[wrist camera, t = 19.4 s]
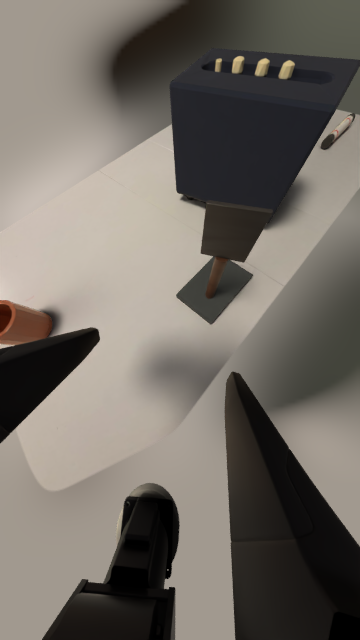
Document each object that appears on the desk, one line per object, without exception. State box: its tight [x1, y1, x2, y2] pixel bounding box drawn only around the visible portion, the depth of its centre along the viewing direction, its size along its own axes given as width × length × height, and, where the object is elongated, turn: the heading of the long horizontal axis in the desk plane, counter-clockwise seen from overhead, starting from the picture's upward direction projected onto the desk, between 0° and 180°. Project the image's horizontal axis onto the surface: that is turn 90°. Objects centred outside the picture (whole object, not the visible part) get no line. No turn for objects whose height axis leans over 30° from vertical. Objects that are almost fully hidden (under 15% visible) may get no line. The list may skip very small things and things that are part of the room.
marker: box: [321, 114, 355, 149], centre depth 35 cm, size 15×2×2 cm, turn 137°
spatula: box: [201, 200, 273, 299], centre depth 16 cm, size 2×5×14 cm, turn 72°
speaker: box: [170, 48, 360, 223], centre depth 24 cm, size 22×13×15 cm, turn 59°
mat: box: [176, 256, 253, 324], centre depth 24 cm, size 12×8×1 cm, turn 138°
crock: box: [0, 300, 52, 345], centre depth 22 cm, size 6×6×6 cm
